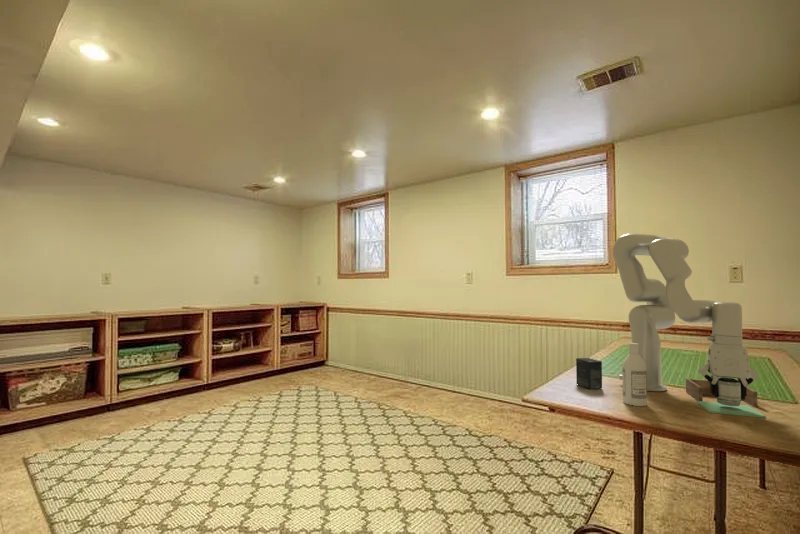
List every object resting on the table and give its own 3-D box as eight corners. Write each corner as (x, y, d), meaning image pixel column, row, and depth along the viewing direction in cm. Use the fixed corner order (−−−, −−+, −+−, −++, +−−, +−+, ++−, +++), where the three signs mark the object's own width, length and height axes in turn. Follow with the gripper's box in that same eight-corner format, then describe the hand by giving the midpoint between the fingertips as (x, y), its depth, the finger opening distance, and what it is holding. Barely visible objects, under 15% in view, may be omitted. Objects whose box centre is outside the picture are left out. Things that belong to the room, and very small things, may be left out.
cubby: (699, 402, 136) (698, 387, 136) (685, 392, 148) (685, 378, 148) (757, 407, 130) (757, 391, 131) (738, 396, 143) (738, 382, 143)
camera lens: (715, 399, 132) (714, 375, 132) (740, 402, 128) (739, 378, 129) (716, 404, 127) (715, 379, 127) (742, 407, 123) (741, 382, 124)
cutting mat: (709, 412, 125) (709, 410, 125) (696, 402, 135) (696, 400, 135) (765, 417, 120) (765, 415, 120) (747, 407, 130) (747, 405, 130)
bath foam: (651, 405, 132) (650, 344, 133) (638, 408, 129) (637, 345, 130) (631, 399, 138) (630, 341, 139) (618, 402, 135) (617, 342, 136)
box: (602, 389, 151) (602, 361, 152) (589, 390, 150) (589, 361, 150) (588, 384, 159) (588, 357, 159) (576, 384, 158) (575, 357, 158)
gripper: (699, 340, 128) (700, 397, 127) (767, 344, 122) (768, 403, 121) (691, 337, 135) (691, 391, 134) (754, 340, 129) (755, 396, 129)
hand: (728, 396), depth 128 cm, fingers closed on camera lens, 6 cm apart
